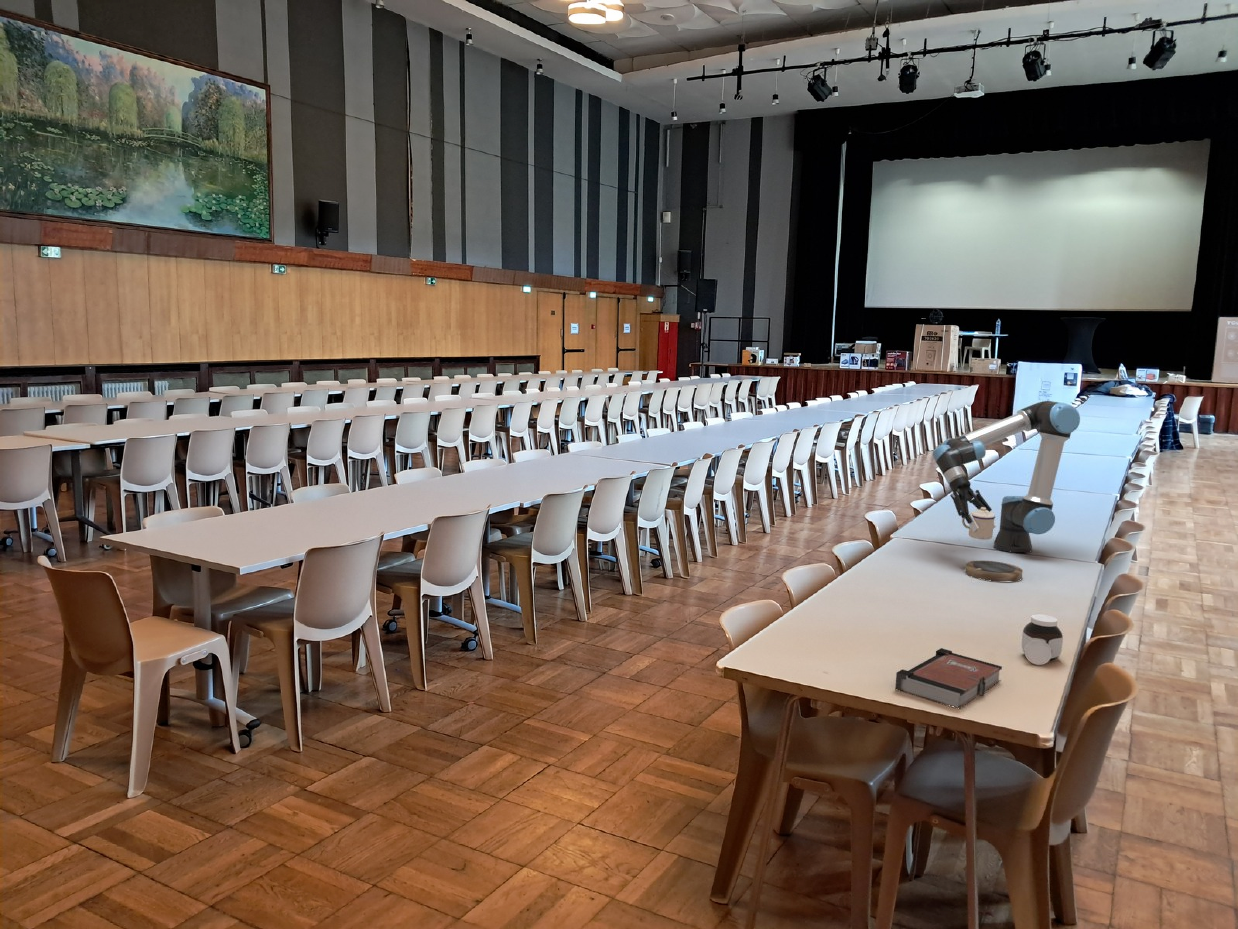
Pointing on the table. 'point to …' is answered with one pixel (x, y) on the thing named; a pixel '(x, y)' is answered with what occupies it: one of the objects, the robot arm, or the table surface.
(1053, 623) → the spread jar
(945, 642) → the table surface
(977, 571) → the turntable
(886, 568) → the table surface
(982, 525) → the teacup with lid
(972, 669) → the book
